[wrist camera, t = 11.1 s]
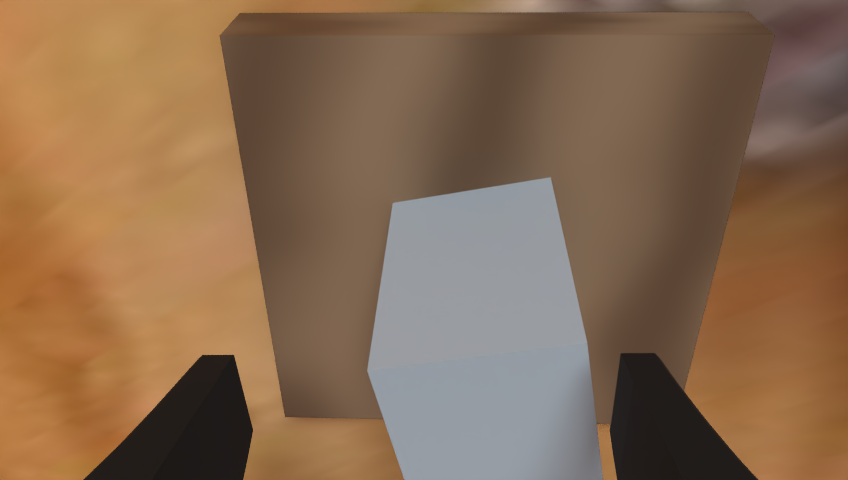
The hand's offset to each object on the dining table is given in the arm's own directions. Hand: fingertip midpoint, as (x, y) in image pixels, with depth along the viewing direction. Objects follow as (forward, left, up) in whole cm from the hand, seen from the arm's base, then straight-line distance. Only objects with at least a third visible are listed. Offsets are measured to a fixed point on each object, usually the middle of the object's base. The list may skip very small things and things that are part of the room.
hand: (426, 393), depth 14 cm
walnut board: (-1, +3, -10) cm, 11 cm away
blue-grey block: (-1, +3, -8) cm, 9 cm away
